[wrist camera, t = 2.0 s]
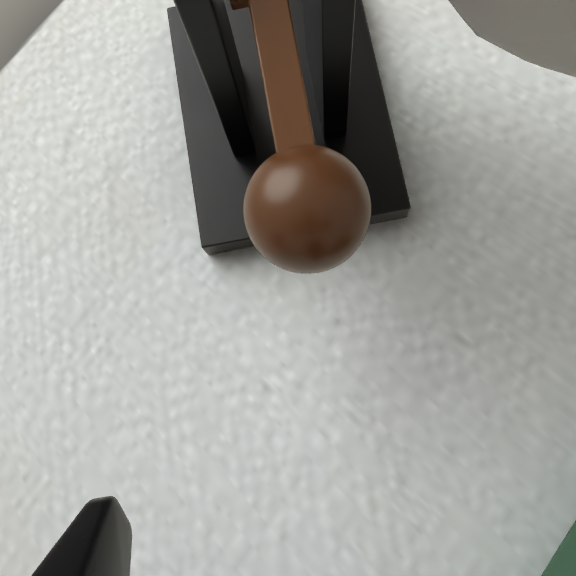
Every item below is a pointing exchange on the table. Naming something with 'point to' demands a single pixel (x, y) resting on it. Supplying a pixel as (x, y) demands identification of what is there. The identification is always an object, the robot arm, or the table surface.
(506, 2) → the chalice
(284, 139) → the lever
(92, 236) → the table surface
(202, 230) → the bracket
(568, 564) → the button box
